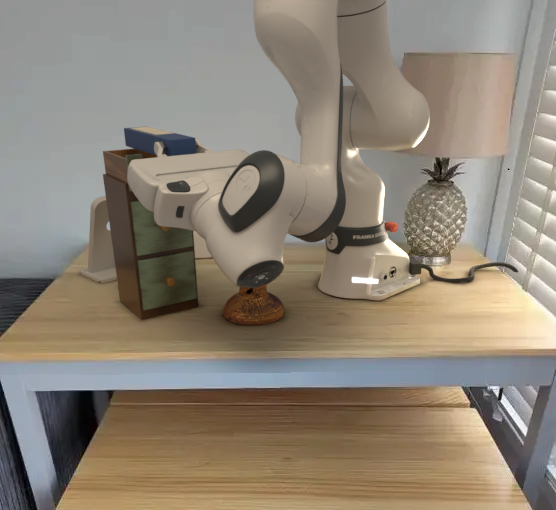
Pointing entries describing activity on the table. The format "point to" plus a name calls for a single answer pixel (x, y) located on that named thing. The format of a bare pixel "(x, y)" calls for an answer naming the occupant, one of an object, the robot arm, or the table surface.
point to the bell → (253, 307)
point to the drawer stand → (146, 247)
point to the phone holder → (100, 245)
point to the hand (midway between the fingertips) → (174, 143)
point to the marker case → (148, 136)
